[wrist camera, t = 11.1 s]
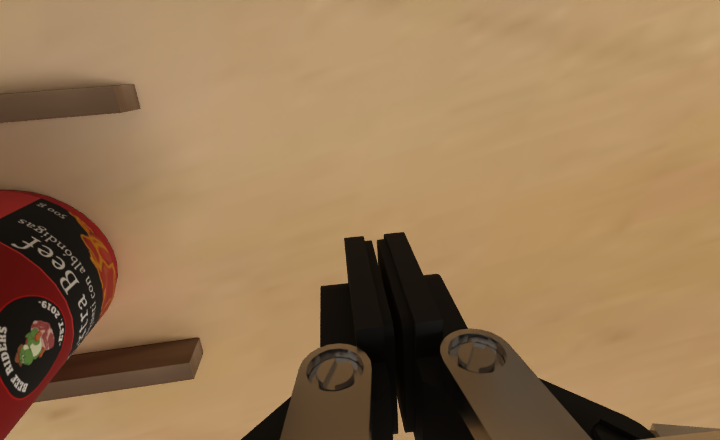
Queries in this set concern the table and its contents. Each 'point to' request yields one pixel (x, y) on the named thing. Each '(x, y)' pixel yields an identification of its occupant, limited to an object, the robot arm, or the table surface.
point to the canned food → (46, 293)
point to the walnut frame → (118, 364)
